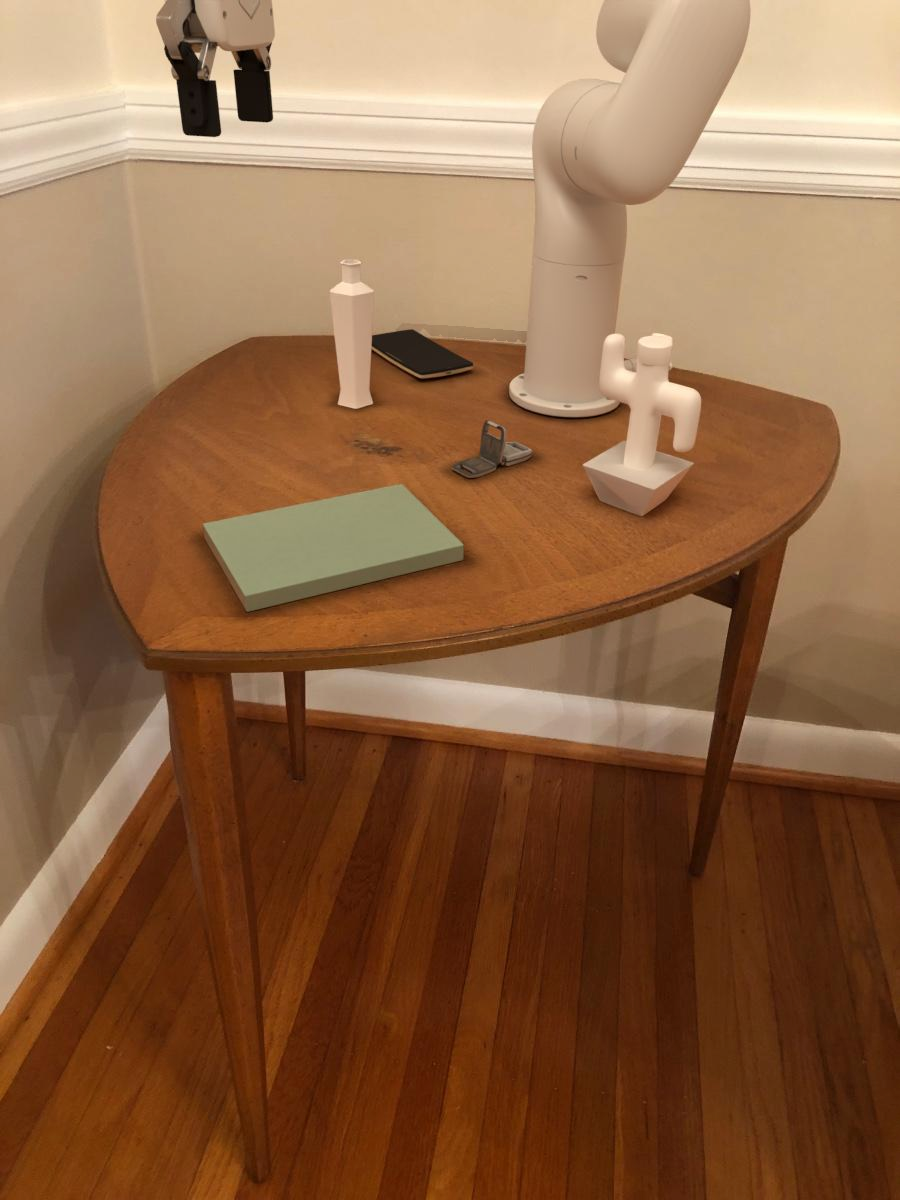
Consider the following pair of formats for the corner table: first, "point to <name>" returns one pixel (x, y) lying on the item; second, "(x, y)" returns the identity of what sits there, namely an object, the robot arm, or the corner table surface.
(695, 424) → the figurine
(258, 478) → the corner table surface
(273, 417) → the corner table surface
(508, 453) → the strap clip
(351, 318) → the white faceted vase
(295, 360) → the corner table surface
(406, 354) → the smartphone
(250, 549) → the tile slab
